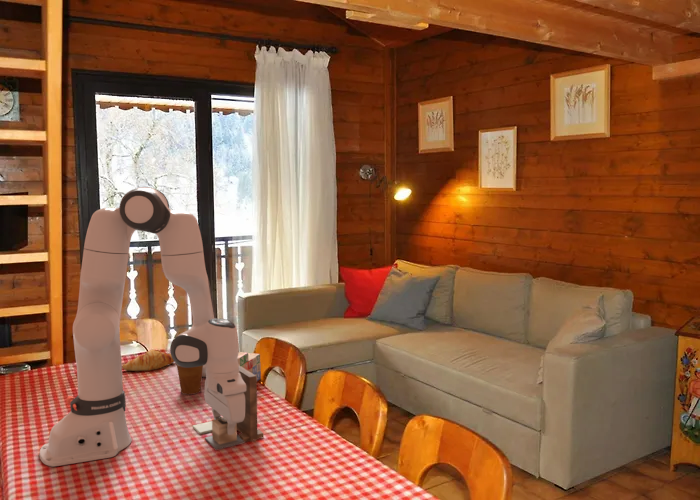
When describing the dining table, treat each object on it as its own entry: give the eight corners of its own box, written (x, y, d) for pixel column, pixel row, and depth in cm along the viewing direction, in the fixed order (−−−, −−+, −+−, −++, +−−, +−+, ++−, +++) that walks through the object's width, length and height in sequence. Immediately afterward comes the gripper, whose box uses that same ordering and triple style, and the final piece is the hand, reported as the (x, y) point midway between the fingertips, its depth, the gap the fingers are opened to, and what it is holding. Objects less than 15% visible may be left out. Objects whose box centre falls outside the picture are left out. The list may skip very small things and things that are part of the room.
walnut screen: (244, 442, 168) (242, 378, 166) (219, 421, 183) (217, 362, 181) (264, 437, 171) (263, 374, 169) (237, 417, 186) (236, 358, 184)
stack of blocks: (245, 377, 224) (244, 344, 222) (261, 379, 222) (260, 345, 220) (214, 397, 203) (214, 360, 202) (232, 399, 201) (231, 362, 200)
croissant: (125, 383, 228) (127, 367, 224) (117, 364, 234) (119, 348, 231) (181, 371, 240) (183, 356, 236) (172, 354, 247) (174, 339, 243)
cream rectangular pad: (200, 434, 173) (199, 432, 173) (192, 427, 178) (192, 425, 178) (226, 428, 178) (226, 426, 178) (219, 421, 183) (218, 419, 183)
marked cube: (219, 444, 165) (218, 425, 165) (212, 437, 170) (211, 419, 169) (236, 440, 168) (236, 421, 168) (229, 433, 172) (229, 415, 172)
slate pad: (216, 450, 163) (216, 447, 163) (205, 439, 170) (205, 437, 170) (244, 442, 168) (244, 440, 168) (232, 432, 174) (232, 430, 174)
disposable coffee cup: (170, 394, 206) (169, 359, 205) (187, 385, 215) (186, 351, 213) (194, 397, 203) (193, 362, 201) (210, 388, 211) (209, 354, 210)
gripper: (198, 371, 174) (199, 418, 175) (226, 391, 157) (227, 444, 158) (219, 367, 177) (220, 413, 179) (249, 387, 160) (250, 438, 162)
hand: (224, 428), depth 169 cm, fingers open, 7 cm apart
